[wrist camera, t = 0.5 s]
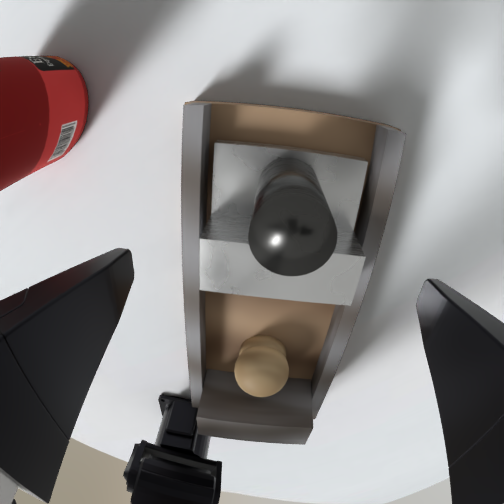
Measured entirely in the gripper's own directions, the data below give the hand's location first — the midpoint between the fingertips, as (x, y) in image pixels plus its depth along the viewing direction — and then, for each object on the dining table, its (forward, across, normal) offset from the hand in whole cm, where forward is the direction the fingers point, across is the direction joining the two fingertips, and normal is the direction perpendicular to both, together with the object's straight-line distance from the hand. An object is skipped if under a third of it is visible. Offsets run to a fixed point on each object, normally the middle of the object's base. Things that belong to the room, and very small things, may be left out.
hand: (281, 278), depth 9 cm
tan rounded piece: (+10, 0, +14) cm, 17 cm away
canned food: (+12, +16, -4) cm, 21 cm away
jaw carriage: (+10, 0, +2) cm, 10 cm away
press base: (+12, 0, +8) cm, 14 cm away
